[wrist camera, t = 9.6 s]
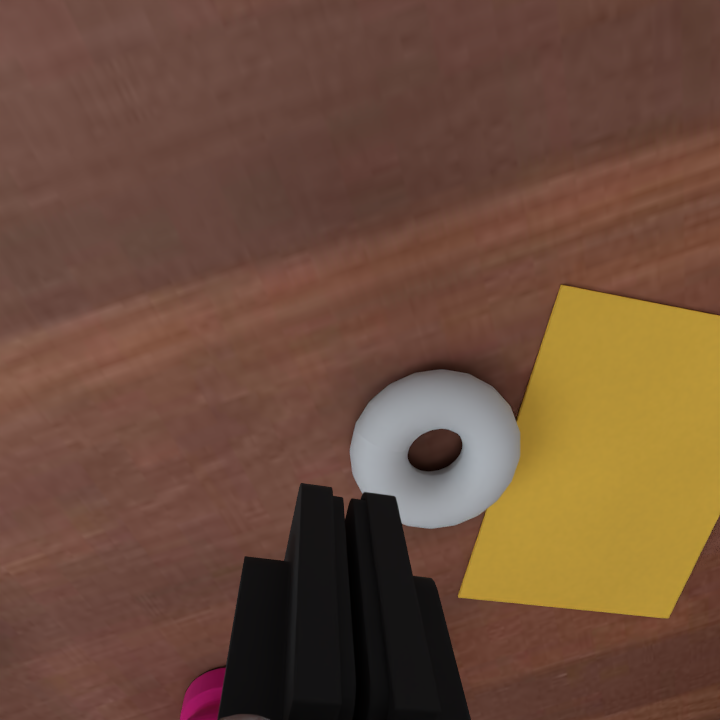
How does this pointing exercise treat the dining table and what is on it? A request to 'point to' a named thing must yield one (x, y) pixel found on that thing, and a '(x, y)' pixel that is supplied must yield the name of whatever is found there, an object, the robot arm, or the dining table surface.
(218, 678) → the pepper mill
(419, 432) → the donut
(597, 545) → the cloth
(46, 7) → the dining table surface
